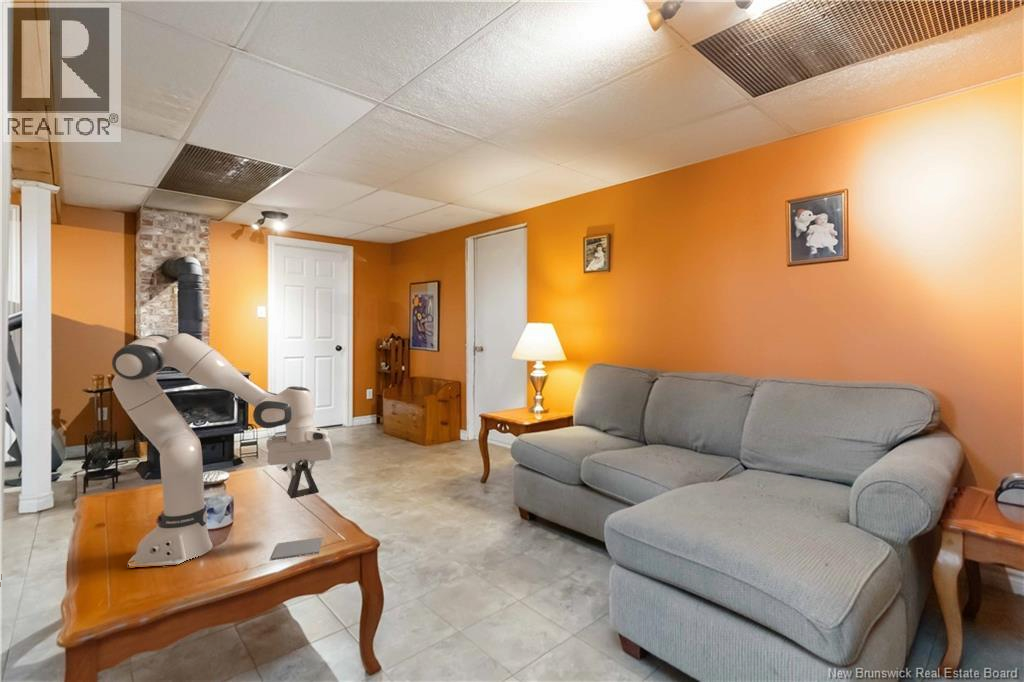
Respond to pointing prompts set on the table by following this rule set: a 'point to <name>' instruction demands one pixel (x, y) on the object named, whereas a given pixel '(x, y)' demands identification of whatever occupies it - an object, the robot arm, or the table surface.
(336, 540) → the table surface
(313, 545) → the mat
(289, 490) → the black triangular stand
